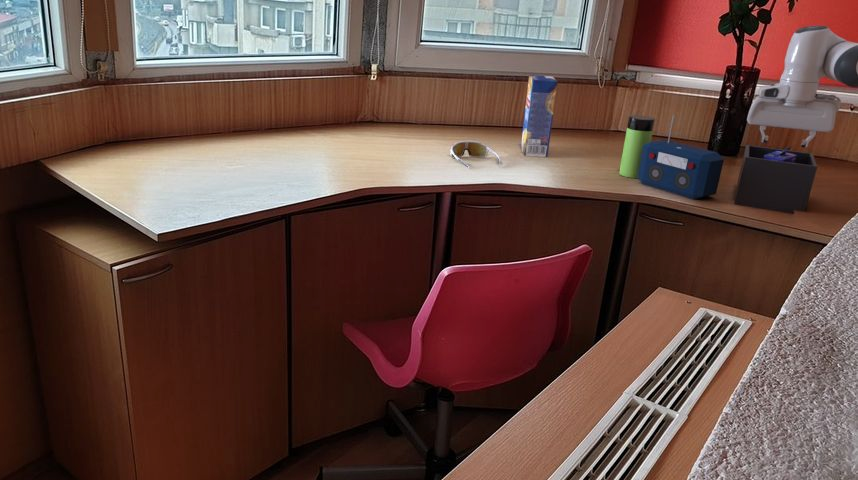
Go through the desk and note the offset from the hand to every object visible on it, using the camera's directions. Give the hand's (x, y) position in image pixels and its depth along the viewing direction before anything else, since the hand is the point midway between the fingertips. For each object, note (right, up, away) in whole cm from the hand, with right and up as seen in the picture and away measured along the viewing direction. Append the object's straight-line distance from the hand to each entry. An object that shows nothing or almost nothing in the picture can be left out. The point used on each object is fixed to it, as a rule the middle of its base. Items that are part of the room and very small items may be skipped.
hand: (783, 144), depth 190 cm
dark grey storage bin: (-1, -14, +6) cm, 16 cm away
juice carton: (-57, +5, +47) cm, 74 cm away
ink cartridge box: (-1, -14, +6) cm, 15 cm away
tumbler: (-32, -5, +25) cm, 41 cm away
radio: (-24, -11, +12) cm, 29 cm away
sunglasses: (-78, 0, +31) cm, 84 cm away
